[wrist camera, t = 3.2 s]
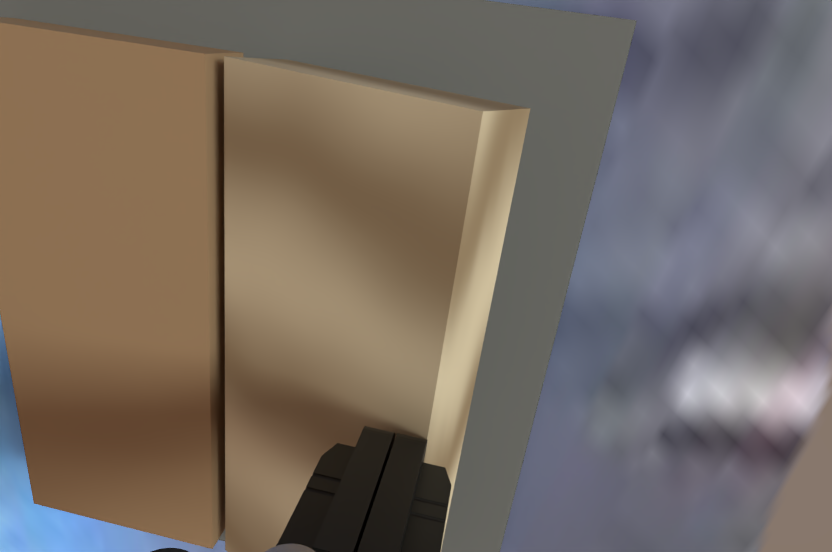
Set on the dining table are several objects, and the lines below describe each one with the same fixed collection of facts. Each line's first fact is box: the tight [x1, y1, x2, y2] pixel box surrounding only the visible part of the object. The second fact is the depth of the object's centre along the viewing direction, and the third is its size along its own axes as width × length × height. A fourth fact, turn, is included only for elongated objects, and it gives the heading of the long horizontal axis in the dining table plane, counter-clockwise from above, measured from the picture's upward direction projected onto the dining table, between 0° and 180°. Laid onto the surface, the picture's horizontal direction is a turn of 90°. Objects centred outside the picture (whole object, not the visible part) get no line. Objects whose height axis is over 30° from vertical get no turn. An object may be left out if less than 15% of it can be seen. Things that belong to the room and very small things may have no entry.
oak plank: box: [224, 56, 530, 552], centre depth 16 cm, size 16×7×2 cm, turn 172°
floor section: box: [0, 0, 636, 552], centre depth 18 cm, size 20×18×3 cm
